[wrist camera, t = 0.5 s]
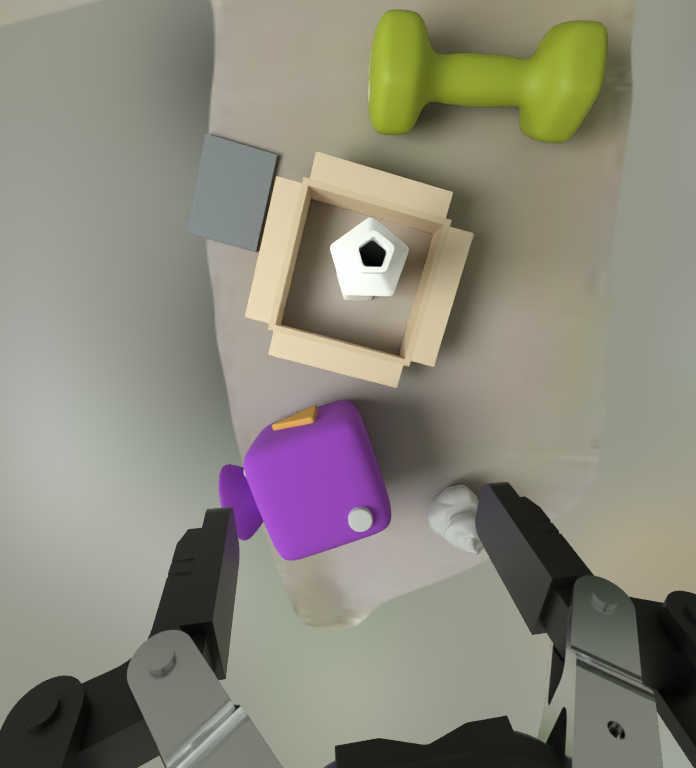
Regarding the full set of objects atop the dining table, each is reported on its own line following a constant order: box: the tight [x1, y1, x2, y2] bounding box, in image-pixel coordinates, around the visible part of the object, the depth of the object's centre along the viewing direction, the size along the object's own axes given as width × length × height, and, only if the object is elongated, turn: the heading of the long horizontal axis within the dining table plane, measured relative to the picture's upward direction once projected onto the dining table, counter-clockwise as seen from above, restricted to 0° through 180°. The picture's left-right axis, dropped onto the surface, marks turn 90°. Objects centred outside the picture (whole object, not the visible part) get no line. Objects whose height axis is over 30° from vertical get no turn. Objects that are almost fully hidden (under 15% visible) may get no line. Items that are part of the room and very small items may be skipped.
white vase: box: [330, 218, 409, 300], centre depth 28 cm, size 5×4×15 cm
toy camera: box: [219, 400, 391, 560], centre depth 33 cm, size 11×14×10 cm
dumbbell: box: [368, 9, 608, 143], centre depth 30 cm, size 16×8×7 cm, turn 87°
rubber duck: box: [427, 484, 484, 554], centre depth 35 cm, size 5×7×8 cm
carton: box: [245, 152, 474, 388], centre depth 34 cm, size 16×16×4 cm
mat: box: [187, 134, 278, 252], centre depth 34 cm, size 8×6×1 cm
